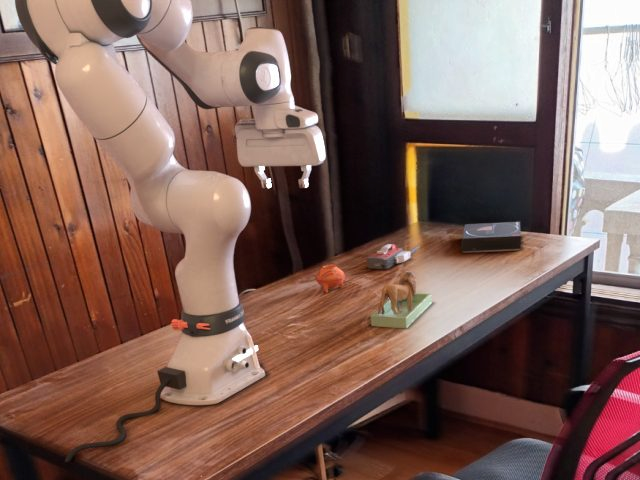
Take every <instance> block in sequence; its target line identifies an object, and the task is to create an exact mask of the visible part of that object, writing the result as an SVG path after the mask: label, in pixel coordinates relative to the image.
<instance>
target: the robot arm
mask: <svg viewBox="0 0 640 480" xmlns="http://www.w3.org/2000/svg"><path fill="white" fill-rule="evenodd" d="M14 5H15V10H16V14H17V15H16V16H17V18H18V21H19V23H20V26H21V27H22V29H23V31H24V32H25V34H26V35H27V37H28V39H29V40H30V42H31V43H32V44H33V45H34V46H35V48H37V50H39V53H40V54H41V55H42V56H43V57H44V58H45V59H46V60H47V61H49V62H50V63H52V64H53V65H55V69H54V76H55V82H56V85H57V87H58V88H59V90H60V92H61V93H62V96H63V97H64V99H65V100H66V101H67V103H68V105H69V106H70V109H72V111H73V112H74V115H76V117H77V119H78V120H80V122H81V123H82V125H83V126H84V127H85V128H86V130H87V131H88V132H89V134H91V136H92V137H93V138H94V140H95V141H97V143H98V144H99V145H100V146H101V148H102V149H103V150H104V151H105V152H106V153H107V155H108V156H109V157H110V158H111V160H112V161H113V162H114V163H115V164H116V166H117V167H118V168H119V169H120V170H121V172H122V174H123V175H124V177H125V179H126V180H127V182H128V184H129V186H130V192H129V201H130V202H129V203H130V207H131V209H132V212H133V214H134V216H135V217H136V218H137V220H138V221H140V222H141V223H142V224H144V225H146V226H147V227H150V228H153V229H154V230H158V231H160V232H164V233H170V234H181V235H184V239H185V252H184V257H183V258H182V259H181V260H180V261H179V262H178V263H177V265H176V267H175V270H174V276H175V280H176V284H177V290H178V294H179V298H180V303H181V307H182V309H181V315H180V316H181V317H180V319H176V318H174V319H173V318H172V320H171V323H170V328H171V329H172V330H173V331H178V330H179V331H181V332H182V333H181V335H180V338H179V340H178V342H177V344H176V346H175V348H174V350H173V352H172V355H171V357H170V359H169V361H168V362H167V366H164V367H162V368H160V369H158V370H157V376H158V379H159V384H160V385H159V386H158V387H157V389H156V390H155V391H156V392H155V394H154V400H155V401H154V402H155V405H154V406H153V407H152V408H151V409H148V410H146V411H140V412H132V413H125V414H124V415H122V416H120V417H119V418H118V419H117V420H116V422H115V425H116V428H117V430H118V432H119V435H118V436H117V437H116V438H114V439H111V440H106V441H95V442H87V443H83V444H80V445H78V446H75V447H74V448H72V449H71V450H70V451H69V452H68V454H67V455H66V456H65V458H64V462H65V463H68V462H71V461H72V459H73V458H74V457H75V455H76V454H78V453H80V452H81V451H85V450H88V449H89V450H90V449H95V448H97V449H98V448H108V447H112V446H115V445H118V444H120V443H121V442H122V441H124V439H125V438H126V436H127V433H126V429H125V428H124V427H123V425H122V424H123V423H124V422H125V421H127V420H130V419H136V418H137V419H138V418H140V417H146V416H150V415H154V414H155V413H157V411H159V409H160V408H161V404H162V403H161V400H163V401H165V402H169V403H173V404H177V405H187V406H210V405H216V404H219V403H220V402H222V401H225V400H226V399H228V398H230V397H231V396H233V395H235V394H236V393H239V392H240V391H242V390H243V389H245V388H247V387H249V386H251V385H252V384H254V383H256V382H257V381H260V380H261V379H263V378H264V377H265V376H266V372H265V370H264V369H263V368H262V367H261V366H260V361H259V358H258V355H257V352H258V351H259V346H258V345H257V344H256V345H254V341H253V338H252V336H251V334H250V332H249V331H248V329H247V327H246V325H245V311H244V310H245V309H244V307H243V304H242V301H241V300H240V299H239V294H238V293H239V292H238V287H237V282H236V281H237V280H236V274H235V268H234V254H235V248H236V243H237V240H238V237H239V236H240V234H241V233H242V231H243V230H245V228H246V227H247V225H248V223H249V220H250V217H251V212H252V203H251V197H250V194H249V191H248V189H247V188H246V186H245V185H244V183H243V182H242V181H241V180H239V179H238V178H236V177H233V176H231V175H229V174H225V173H222V172H220V171H219V172H218V171H214V170H194V169H193V170H192V169H187V168H185V167H184V166H183V165H181V164H180V163H179V161H177V159H176V157H175V156H174V151H175V147H176V135H175V132H174V130H173V128H172V126H171V125H170V124H169V123H168V121H167V119H165V117H164V116H163V115H162V113H161V112H160V110H159V109H158V108H157V106H156V105H155V103H154V102H153V101H152V100H151V98H150V97H149V96H148V94H147V93H146V92H145V90H144V89H143V88H142V87H141V85H140V84H139V83H138V81H137V80H136V79H135V78H134V76H132V74H131V73H130V72H129V71H128V70H127V68H126V67H124V65H123V64H122V63H121V62H120V59H119V57H118V54H117V52H116V49H115V45H114V43H117V42H119V41H121V40H123V39H130V38H132V37H135V36H136V39H137V40H138V42H139V44H140V45H141V46H142V48H143V49H144V50H145V51H146V52H147V54H148V55H150V56H151V58H153V59H154V60H155V61H156V62H157V63H158V64H159V65H161V66H162V68H164V69H165V70H166V71H167V72H168V73H169V74H170V75H171V76H172V77H173V78H175V79H176V80H177V81H178V83H179V84H180V85H181V86H182V87H183V89H184V91H185V92H186V93H187V95H188V96H189V97H190V99H191V100H192V101H193V103H194V104H195V105H196V106H197V107H199V108H201V109H203V110H214V109H220V108H231V107H232V108H235V107H236V108H238V107H240V108H241V107H252V111H253V112H252V114H253V118H249V119H245V118H242V119H239V120H238V122H236V124H235V126H234V131H235V138H236V153H237V160H238V163H239V165H240V166H241V167H243V168H244V167H246V168H248V167H249V168H250V167H253V168H254V173H255V174H256V176H257V178H258V179H259V180H260V184H261V188H262V189H270V188H272V183H271V182H272V180H271V177H270V178H269V177H267V175H266V173H265V172H264V171H266V167H300V170H301V172H303V173H302V176H301V178H298V180H297V181H298V188H299V189H307V188H309V185H310V184H309V177H310V174H311V172H312V167H315V166H320V165H322V164H324V162H325V160H326V156H327V155H326V147H325V141H324V137H323V133H322V130H321V129H320V128H319V126H318V125H317V124H318V123H319V116H318V113H316V112H315V111H311V110H308V109H306V108H303V107H301V106H298V105H296V104H295V98H294V95H293V92H292V87H291V80H292V73H291V72H292V71H291V66H290V59H289V53H288V49H287V45H286V42H285V38H284V36H283V33H282V32H281V31H280V30H279V29H277V28H274V27H269V26H253V27H249V28H247V29H245V31H244V35H243V38H244V39H243V41H242V42H241V43H240V44H239V45H238V46H237V47H236V48H235V49H233V50H225V51H224V50H223V51H209V52H208V51H198V50H194V49H193V48H191V46H189V44H188V43H187V42H186V40H187V39H188V37H189V34H190V32H191V29H192V27H193V26H192V25H193V18H194V12H193V10H194V9H193V4H192V0H14Z"/></svg>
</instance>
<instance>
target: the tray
mask: <svg viewBox="0 0 640 480" xmlns="http://www.w3.org/2000/svg"><path fill="white" fill-rule="evenodd" d="M432 296H433V295H432V293H427V292H426V293H425V292H415V295H414V296H413V297H412V306H411V310H412V311H410V312H408V310H407V307H408V301H407V300H402V312H399V311H397V310H398V301H397V302H396V306H395V309H396V311H397V312H399V313H400V314H399V315H395V314H394V313H393V311H392V309H391V306H392V304H391V301H390V299H387V300H386V302H385V303H384V311H385V313H384V314H382V315H378V309H377V310H376V311H375V312H373V313H372V314H371V315H370V324H371V327H380V328H392V329H393V328H395V329H396V328H397V329H408V328H409V327H410V326H411V325H412V324H413V323H414V322H415V321H416V320H417V319H418V318H419V317H420V316H421V315H422V314H423V313H424V312H425V311H426V310H427V309H428V308H429V307H430V306H432V304H433V299H432ZM381 311H382V308H381Z"/></svg>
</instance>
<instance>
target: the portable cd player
mask: <svg viewBox="0 0 640 480" xmlns="http://www.w3.org/2000/svg"><path fill="white" fill-rule="evenodd" d="M521 234H522V232H521V221H506V222H505V221H504V222H486V223H485V222H483V223H468V224H467V223H465V224H464V228H463V232H462V239H461V244H460V250H461V252H462V253H463V254H468V253H488V252H493V253H494V252H513V251H521V245H522V244H521V243H522V241H521V239H522V235H521Z"/></svg>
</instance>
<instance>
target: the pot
mask: <svg viewBox="0 0 640 480" xmlns="http://www.w3.org/2000/svg"><path fill="white" fill-rule="evenodd" d="M345 278H346V274H345V272H344V271H343V270H341V268H339V267H338V266H337V265H336V264H326V265H322V267H321V268H320V269H319V270H318V271H317V272H316V274H315V275H314V280H315V281H316V282H317V284H319V285H320V286H322V287H323V291H324V292H325V293H328V292H329V288H335V287H337V286H339V288H340V289H342V288H343V287H344V286H343V285H344V281H345Z"/></svg>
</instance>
